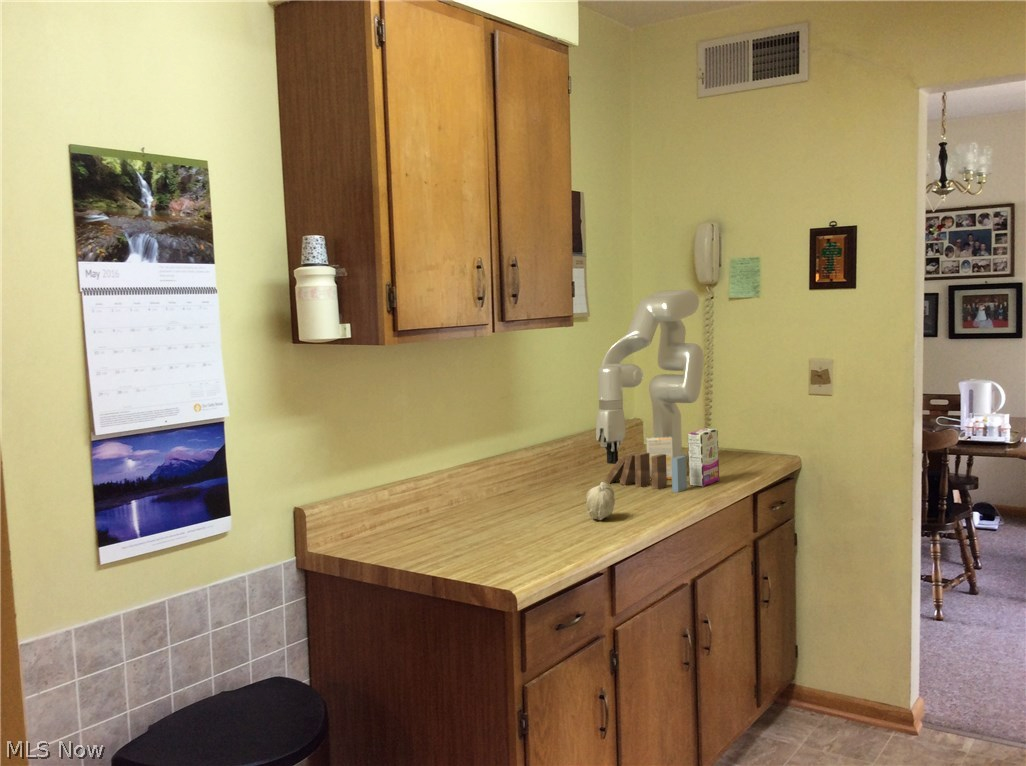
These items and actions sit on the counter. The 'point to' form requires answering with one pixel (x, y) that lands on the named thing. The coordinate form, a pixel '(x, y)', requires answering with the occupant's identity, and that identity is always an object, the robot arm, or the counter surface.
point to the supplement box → (661, 451)
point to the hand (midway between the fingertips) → (612, 463)
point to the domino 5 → (679, 473)
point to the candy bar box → (703, 457)
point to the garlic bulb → (600, 501)
